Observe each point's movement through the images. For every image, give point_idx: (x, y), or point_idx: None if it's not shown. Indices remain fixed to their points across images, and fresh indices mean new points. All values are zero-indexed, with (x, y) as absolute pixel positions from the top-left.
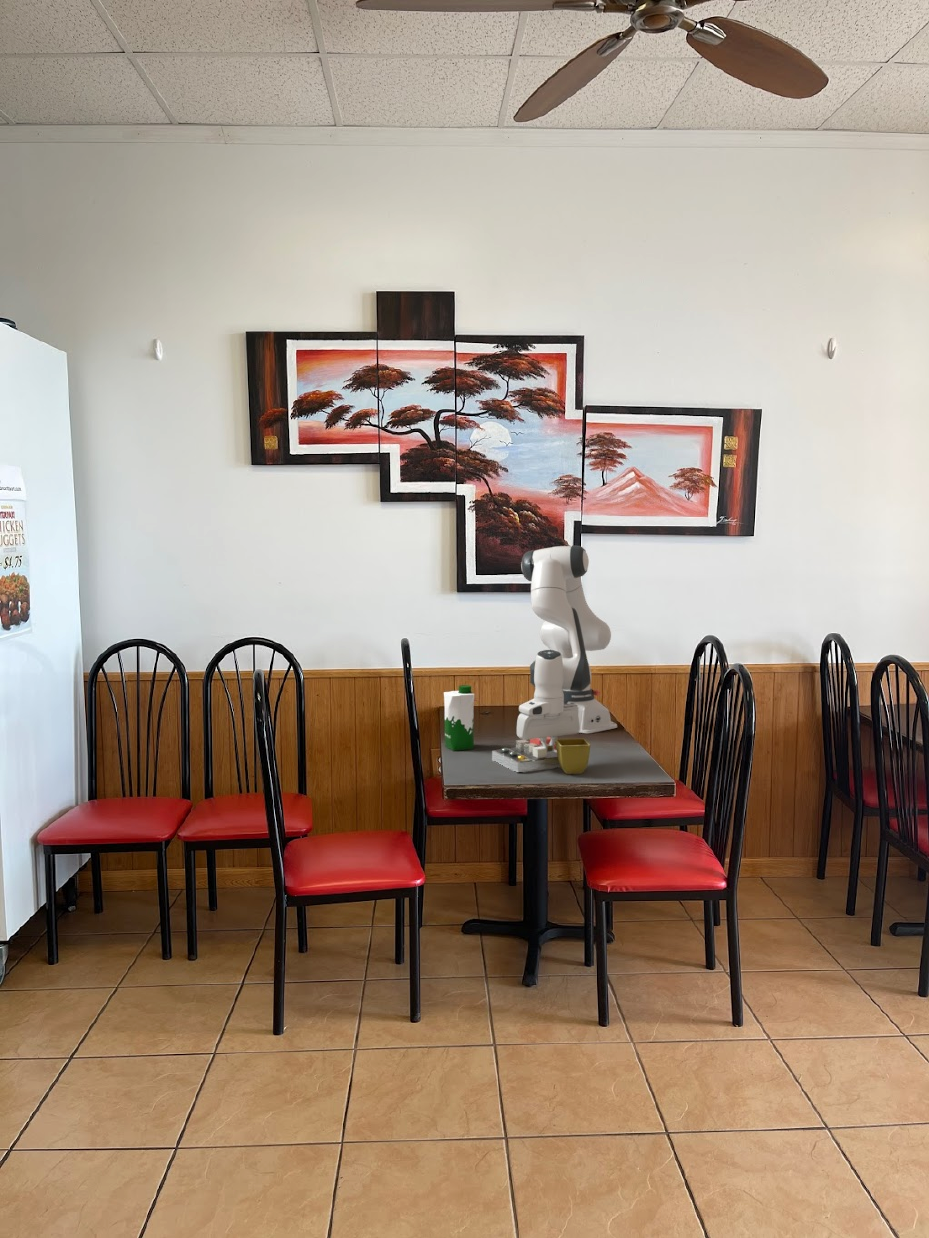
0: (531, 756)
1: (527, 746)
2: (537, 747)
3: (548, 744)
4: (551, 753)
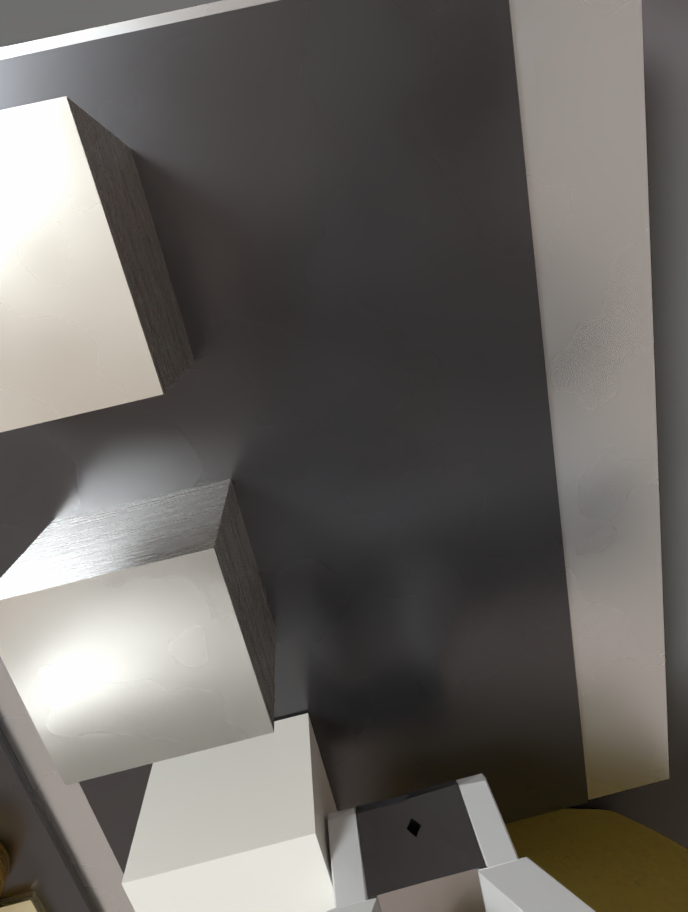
0: (130, 772)
1: (49, 723)
2: (217, 888)
3: (456, 882)
4: (480, 675)
